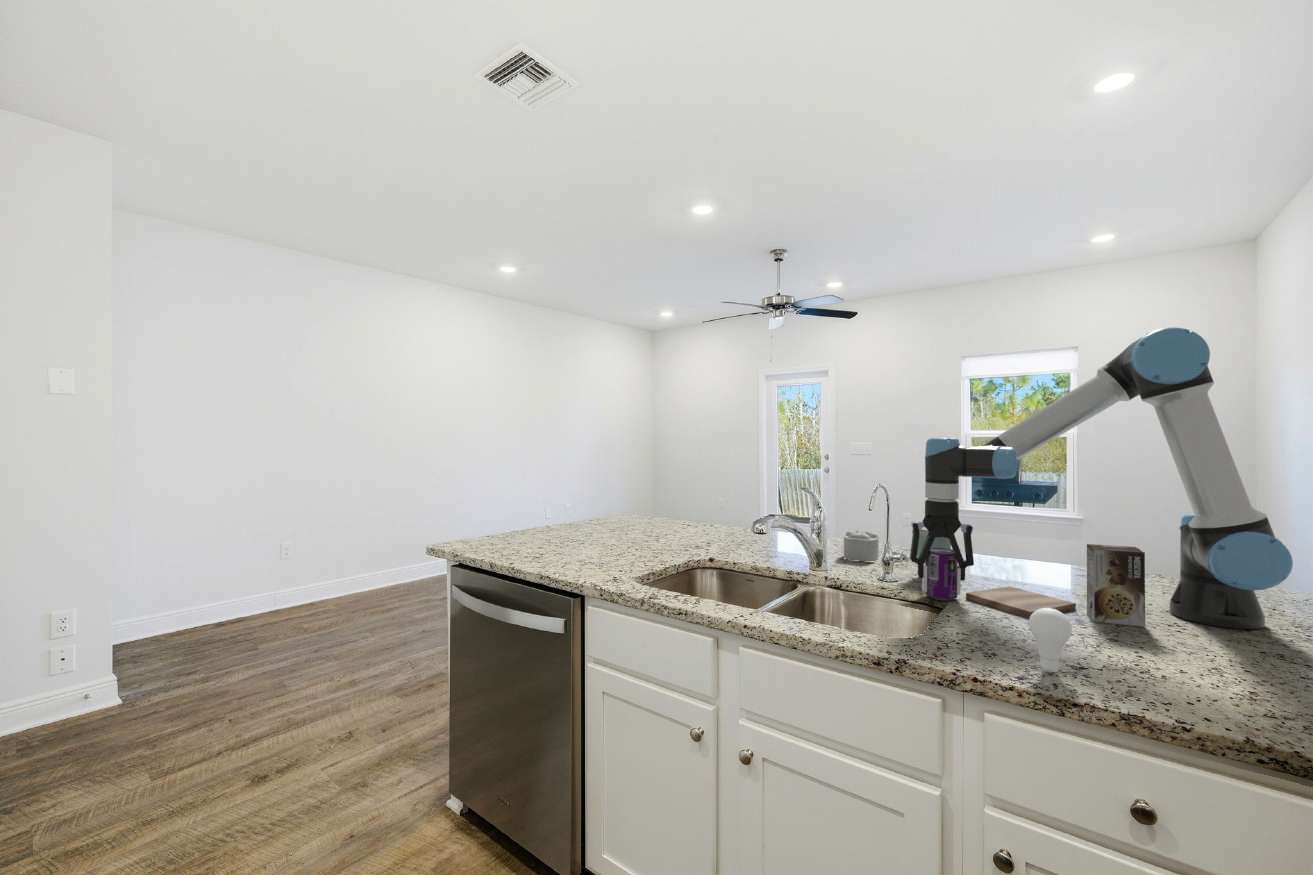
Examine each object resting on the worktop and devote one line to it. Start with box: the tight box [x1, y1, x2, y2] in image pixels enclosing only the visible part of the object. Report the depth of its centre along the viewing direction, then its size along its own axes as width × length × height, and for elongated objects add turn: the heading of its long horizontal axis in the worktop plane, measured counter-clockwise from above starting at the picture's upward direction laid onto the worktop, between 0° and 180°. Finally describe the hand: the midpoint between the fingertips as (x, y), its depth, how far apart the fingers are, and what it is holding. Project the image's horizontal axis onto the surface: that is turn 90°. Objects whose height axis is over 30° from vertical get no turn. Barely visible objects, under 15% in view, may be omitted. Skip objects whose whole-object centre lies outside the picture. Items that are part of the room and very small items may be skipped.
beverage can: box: [925, 548, 959, 602], centre depth 142 cm, size 7×7×12 cm
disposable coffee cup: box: [911, 526, 952, 564], centre depth 161 cm, size 11×11×15 cm
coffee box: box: [1086, 543, 1146, 628], centre depth 125 cm, size 9×6×16 cm
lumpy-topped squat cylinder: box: [843, 529, 880, 562], centre depth 187 cm, size 10×13×9 cm
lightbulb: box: [1028, 608, 1073, 674], centre depth 98 cm, size 6×6×11 cm
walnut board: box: [965, 585, 1077, 619], centre depth 137 cm, size 16×16×2 cm
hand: (940, 591), depth 142 cm, fingers closed on beverage can, 7 cm apart
